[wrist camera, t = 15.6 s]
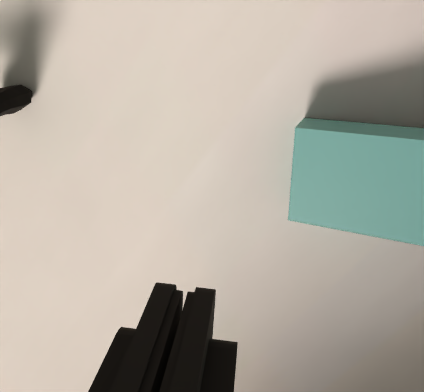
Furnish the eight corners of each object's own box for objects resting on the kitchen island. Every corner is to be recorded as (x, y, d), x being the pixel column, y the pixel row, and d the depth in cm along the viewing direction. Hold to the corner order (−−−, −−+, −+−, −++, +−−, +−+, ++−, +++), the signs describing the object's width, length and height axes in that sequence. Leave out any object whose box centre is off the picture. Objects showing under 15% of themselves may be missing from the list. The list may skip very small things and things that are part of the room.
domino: (296, 204, 22) (506, 240, 18) (288, 220, 20) (516, 263, 17) (304, 117, 20) (544, 138, 16) (295, 127, 18) (560, 153, 14)
